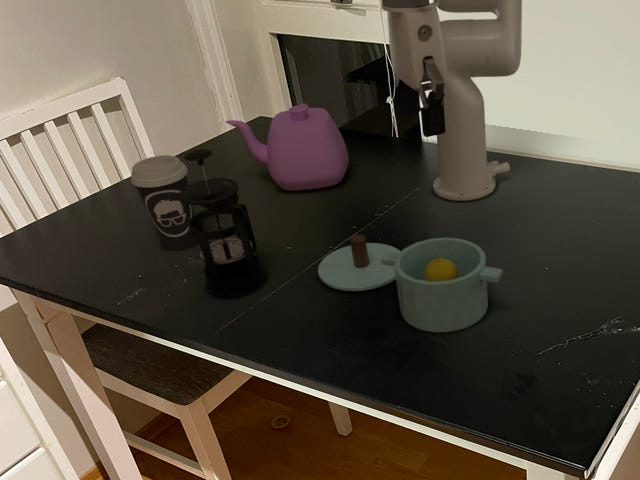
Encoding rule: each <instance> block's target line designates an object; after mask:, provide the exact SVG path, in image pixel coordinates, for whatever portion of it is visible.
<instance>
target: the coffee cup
mask: <svg viewBox="0 0 640 480" xmlns="http://www.w3.org/2000/svg"><path fill="white" fill-rule="evenodd" d="M188 173H189V169H188V168H187V166H186V165H185V163H184V162H182V161H181V160H180V159H179V157H178V156H175V155H167V154H163V155H155V156H150V157H147V158H144V159H141V160H139V161H137V162H136V163H134V164H133V166H132V167H131V174H130V183H131V184H132V185H133V186H135V187H136V189H137V191H138V193H139V195H140V198H141V200H142V202H143V204H144V206H145V209H146V210H147V213H148V215H149V217H150V220H151V221H152V223H153V225H154V228H155V230H156V231H157V234H158V237H159V239H160V241H161V243H162V245H163V247H164V248H165V249H168V250H182V249H186V248H189V247H192V246H193V245H195V244H197V243H198V242H199V241H198V238H196V237H194V236H193V235H192V234H191V232H190V229H189V226H188V223H189V220H190V219H191V218H192V217H193V216H194V215H196V214H195V210H194V205H190V204H188V206H187V208H186V207H185V203H184V202H182V201H181V200H180V198H179V194H180V192H181V191H182V189H184V188H185V187H187V186H188V185H189V183H188V182H189V181H188V177H187V175H188ZM192 229H194V230H195V228H194V227H193V228H192Z"/></svg>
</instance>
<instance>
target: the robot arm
mask: <svg viewBox="0 0 640 480" xmlns="http://www.w3.org/2000/svg"><path fill="white" fill-rule="evenodd" d="M380 5H381V9H382V10H383V11H385V12H386V15H387V16H386V17H387V19H386V20H387V31H388V44H389V53H390V61H391V66H392V71H393V73H394V74H395V78H394V82H395V86H396V88H395V89H396V97H397V105H398V106H397V107H398V113H399V115H400V116H401V117H402V116H403V117H404V116H407V115H413V114H418V113H420V118H421V128H422V135H423V136H424V138H430V137H435V136H436V144H437V157H438V167H439V168H438V169H439V176H438V177H437V178H435V180H434V181H433V183H432V190H433V192H434V193H435V195H437V196H438V197H440V198H442V199H446V200H449V201H457V202H459V201H460V202H463V201H473V200H474V201H475V200H478V199H481V198H484V197H486V196H488V195H490V194H491V193H492V192H494V191H495V188H496V179H495V177H496V176H497V175H499V174H504V173H505V174H506V173H508V172H510V170H511V167H510V164H509V162H507V161H506V162H502V163H499V161H498V160H492V161H489V162H488V158H487V157H488V156H487V136H486V135H487V133H486V113H485V112H486V111H485V100H484V96H483V94H482V92H481V90H480V88H479V87H478V85H477V84H476V83H475V82H474V80H473V78H498V77H499V78H501V77H509V76H510V77H511V76H513V75H515V74H516V73H517V72H518V71H519V68H520V66H521V59H522V44H523V43H522V40H523V38H522V36H523V35H522V34H523V32H522V31H523V28H522V27H523V0H380ZM438 9H439V10H440V11H441V12H446V13H452V14H453V13H454V14H468V13H471V14H472V13H492V14H494V15H495V16H496V18H486V19H473V18H471V19H464V18H463V19H446V20H441V19H440V14H439V12H438ZM428 91H429V92H428ZM426 92H428V94H427V93H426ZM421 105H422V107H421Z"/></svg>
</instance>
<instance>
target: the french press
mask: <svg viewBox="0 0 640 480" xmlns="http://www.w3.org/2000/svg"><path fill="white" fill-rule="evenodd" d="M213 154H214V151H213V150H212V149H210V148H196V149H192V150H190V151H188V152H186V153H185V154H183V159H184V160H186V161H192V162H195V161H196V163H197V165H198V166H199V167H200V169H201V172H202V173H201V174H202V176H203V179H202V180H199V181H196V182H193V183H191V184H188V186H187V187H185V188H184V189H182V191H181V192H180V194H179V198H180V200H181V201H182V202H184V203H185V207H186V208H187V206H188V204H190V205H193V206H200V207H203V208H205V209H204V210H201V211H199V212H198V213H196V214H195V215H194V216H193V217H192V218H191V219H190V220H189V223H188V226H189V229H190V232H191V234H192V235H193V236H194V237H196V238H198V241H197V242H198V244H199V247H200V253H199V257H200V258H201V260H203V262H204V263H205V266H204V268H203V275H204V277H205V281H206V289H207V291H208V293H209V294H211V295H212V296H214V297H217V298H221V299H222V298H223V299H232V298H239V297H243V296H246V295H248V294H251V293H253V292H255V291H257V290H258V289H259V288H261V286H262V285H263V283H264V282H265V274H264V272H263V271H262V268H261V264H260V260H259V258H258V257H257V256H256V255H255V253H256V252H257V251H258V247H257V243H256V239H255V235H254V230H253V227H252V223H251V219H250V216H249V212H248V209H247V205H246V204H245V203H242V202H241V203H240V201H239V200H240V197H239V193H238V191H239V190H240V186H239V183H238V182H237V181H235V180H234V179H232V178H231V179H230V178H225V177H215V178H208V177H207V174H206V172H205V168H204V166H205V159H206V160H207V159H208V158H210V157H211V156H212V155H213ZM220 215H230V216H231V220H232V224H233V225H232V226H230V227H227V228H224V229H222V226H221V222H220V218H219V216H220ZM211 217H215V220H216V224H217V227H218V230H214V231H205V229H204V226H203V223H202V221H203V220H206V219H208V218H211ZM193 227H194V228H195V230H194V229H192V228H193ZM234 235H236V237H235V236H234ZM213 240H214V241H213ZM209 241H211V242H209ZM235 272H247V273H246V274H243V275H241V276H237V277H234V278H228V279H227V278H226V279H221V278H222V277H224V276H225V275H228V274H230V273H235Z"/></svg>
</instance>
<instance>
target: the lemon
mask: <svg viewBox="0 0 640 480" xmlns="http://www.w3.org/2000/svg"><path fill="white" fill-rule="evenodd" d="M456 278H460V277H459V273H458V270H457V268H456V266H455V265H454V264H453V263H452V262H451V261H449V260H448V259H444V258H438V259H435V260H433V261H431V262H430V263H429V264H428V265H427V267H426V269H425V273H424V281H429V282H436V281H449V280H453V279H456Z"/></svg>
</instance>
